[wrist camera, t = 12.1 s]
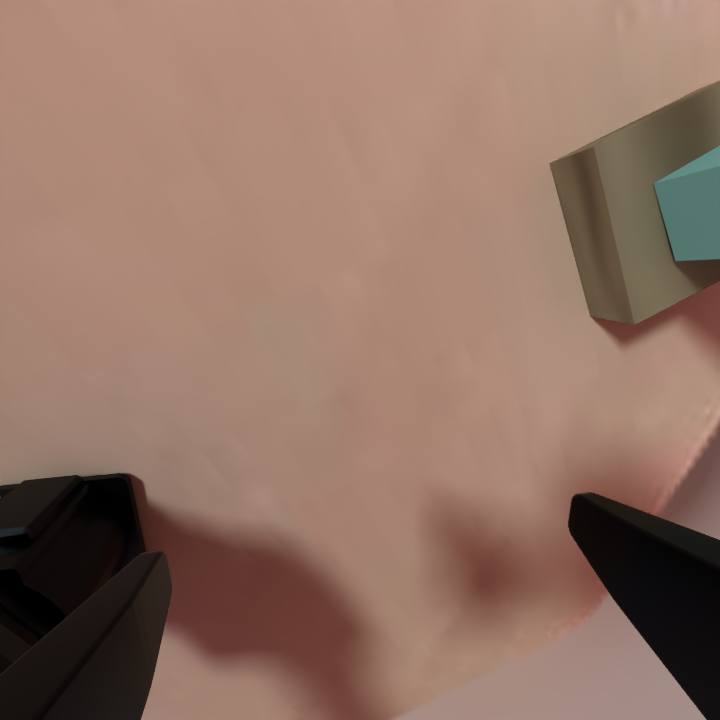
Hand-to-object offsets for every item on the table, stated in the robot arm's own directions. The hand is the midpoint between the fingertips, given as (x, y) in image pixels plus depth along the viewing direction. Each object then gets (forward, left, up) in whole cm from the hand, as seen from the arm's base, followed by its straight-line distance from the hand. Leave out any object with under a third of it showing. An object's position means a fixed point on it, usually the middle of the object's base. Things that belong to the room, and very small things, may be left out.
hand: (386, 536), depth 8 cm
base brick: (+8, -18, -14) cm, 24 cm away
